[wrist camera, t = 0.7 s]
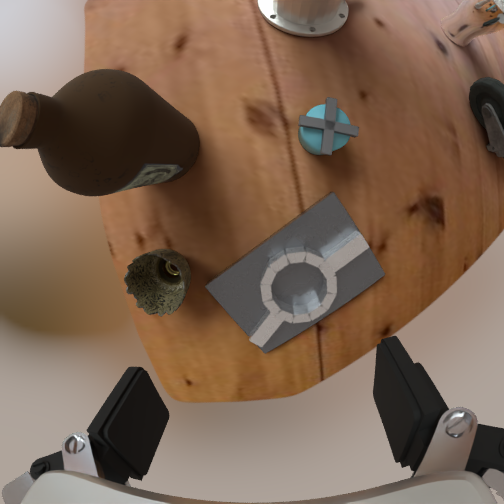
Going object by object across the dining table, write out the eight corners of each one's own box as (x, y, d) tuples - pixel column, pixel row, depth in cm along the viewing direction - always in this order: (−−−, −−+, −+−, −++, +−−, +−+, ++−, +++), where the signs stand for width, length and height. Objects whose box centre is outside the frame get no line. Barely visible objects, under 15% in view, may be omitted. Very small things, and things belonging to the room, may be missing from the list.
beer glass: (450, 47, 24) (503, 17, 9) (431, 14, 22) (474, -24, 8) (474, 50, 23) (525, 26, 8) (456, 18, 21) (500, -13, 7)
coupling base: (330, 191, 32) (338, 193, 28) (381, 270, 34) (392, 281, 31) (207, 282, 37) (200, 294, 33) (265, 347, 39) (264, 364, 35)
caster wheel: (453, 94, 27) (497, 178, 28) (486, 75, 18) (535, 176, 19) (470, 84, 26) (511, 163, 27) (501, 66, 17) (547, 160, 18)
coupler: (321, 109, 30) (332, 93, 23) (345, 141, 30) (363, 132, 24) (289, 130, 31) (294, 118, 24) (315, 162, 32) (325, 159, 25)
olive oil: (126, 122, 31) (-25, 88, 7) (197, 99, 30) (79, -5, 6) (137, 195, 34) (-23, 233, 10) (211, 177, 33) (77, 181, 9)
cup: (212, 276, 36) (197, 301, 29) (170, 298, 38) (148, 325, 30) (182, 228, 35) (159, 242, 27) (142, 254, 36) (113, 273, 29)
